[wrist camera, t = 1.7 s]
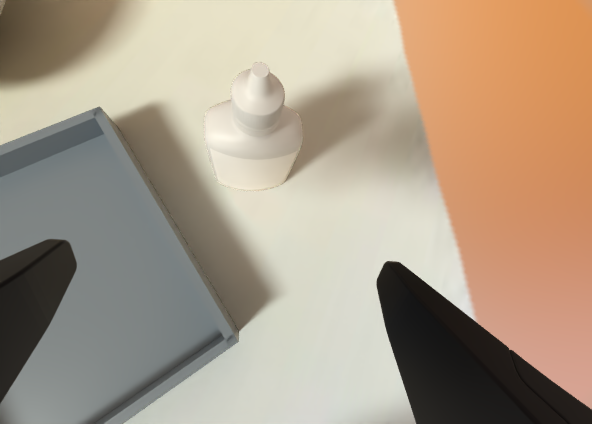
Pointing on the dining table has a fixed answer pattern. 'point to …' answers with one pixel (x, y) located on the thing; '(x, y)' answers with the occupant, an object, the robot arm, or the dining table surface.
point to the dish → (2, 5)
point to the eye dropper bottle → (253, 133)
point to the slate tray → (104, 279)
